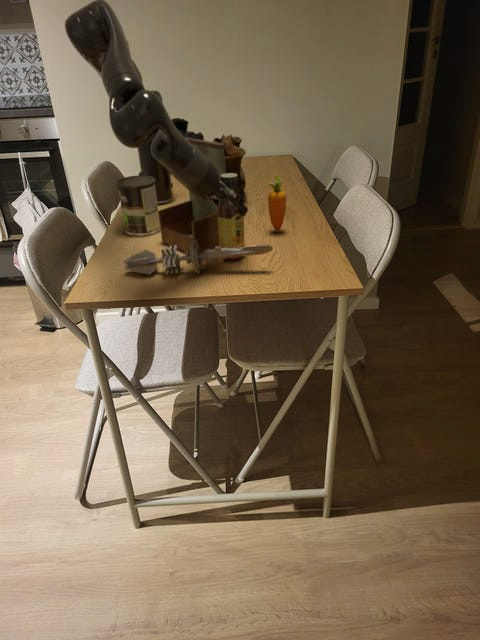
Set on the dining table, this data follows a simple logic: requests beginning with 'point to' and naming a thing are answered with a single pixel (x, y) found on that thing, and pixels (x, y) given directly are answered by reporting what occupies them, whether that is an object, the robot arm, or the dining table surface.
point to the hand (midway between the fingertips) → (235, 209)
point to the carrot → (277, 204)
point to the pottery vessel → (233, 159)
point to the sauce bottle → (230, 219)
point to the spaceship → (188, 257)
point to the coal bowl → (182, 128)
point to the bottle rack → (194, 210)
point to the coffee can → (139, 205)
